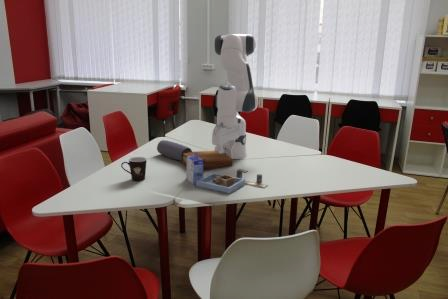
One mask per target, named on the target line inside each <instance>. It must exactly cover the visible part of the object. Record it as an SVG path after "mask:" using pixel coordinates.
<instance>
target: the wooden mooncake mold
mask: <svg viewBox="0 0 448 299" xmlns="http://www.w3.org/2000/svg"><path fill="white" fill-rule="evenodd" d="M221 175H222V176H218V177H216V178H215V179H213V182H215V183H216V185H220V186H225V187H230V186H232V185H233V184H235V181H236V178H237V177H236V178H235V176H232V175H229V174H221Z"/></svg>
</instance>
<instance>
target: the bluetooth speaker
mask: <svg viewBox="0 0 448 299" xmlns="http://www.w3.org/2000/svg"><path fill="white" fill-rule="evenodd" d="M156 151H157V152H158V153H159V154H160V155H162V156H165V157H167V158H169V159H173V160H174V161H175V160H176V161H179V162H181V160H182V161H183V158H182V153H183V152H193V150H192V148H190V147H188V146H186V145H183V144H182V143H181V144H180V143H177V142H174V141H169V140H166V139H165V140H160V141H159V142H158V143H157V146H156Z"/></svg>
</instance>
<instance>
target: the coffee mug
mask: <svg viewBox="0 0 448 299" xmlns="http://www.w3.org/2000/svg"><path fill="white" fill-rule="evenodd" d="M147 160H148V159H147V158H146V157H143V156H134V157H130V158H129V159H128V162H127V161H123V162H122V163H121V166H120V167H121V168H122V169H123V170H124V171H125V172H126V173H127V174H129V175H131V176H130V177H131V180H132V181H136V182H139V181H144V180H145V179H146V172H147V171H146V170H147ZM124 164H127V165H128V167H129V170H130V171H128V169H125V168H124V167H123V165H124Z"/></svg>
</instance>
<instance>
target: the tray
mask: <svg viewBox="0 0 448 299" xmlns="http://www.w3.org/2000/svg"><path fill="white" fill-rule="evenodd" d="M222 175H223V174H220V173H216V172H212V173H211V174H208V175H206V176H203V178H202V179H199V180H197V181H196V184H195V187H196V188H200V189H205V190H209V191H214V192H218V193H223V194H227V195H231V194H232V193H234V192H235V191H237V190H239V189H240V188H242V187H244V186H246V184H245V181H246V179H244V178H237V176H236V177H235V176H234V177H235V178H236V181H235V184H233V185H232V186H230V187H225V186H220V185H216V183H215V182H213V179H215V178H216V177H218V176H222Z"/></svg>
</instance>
